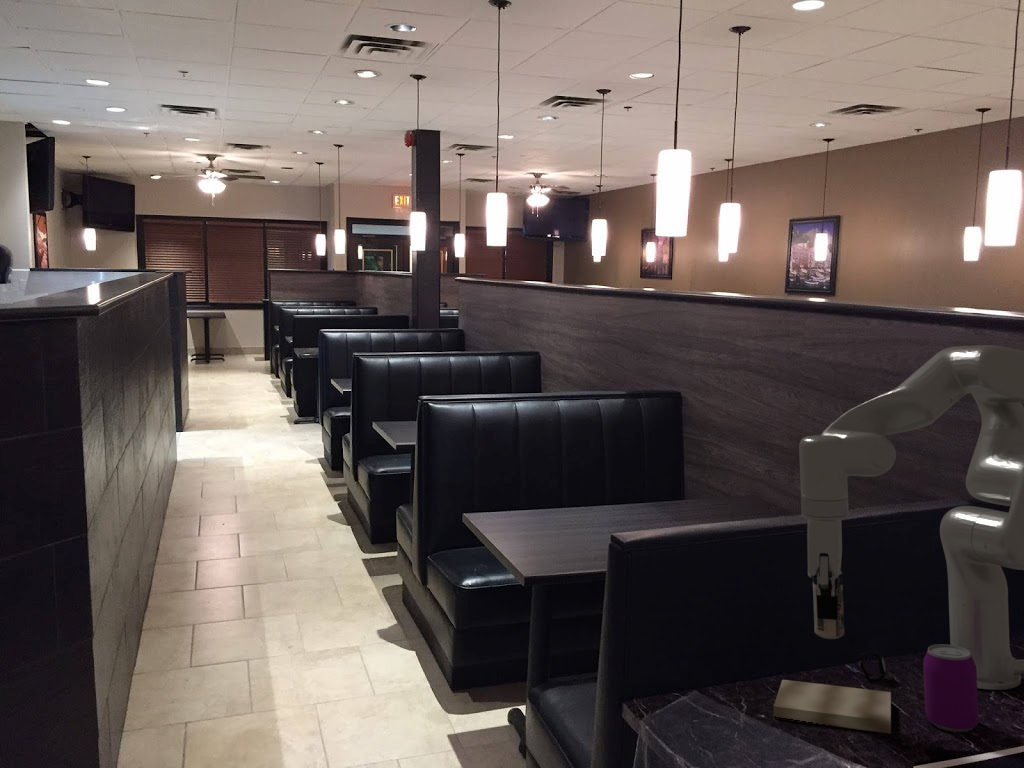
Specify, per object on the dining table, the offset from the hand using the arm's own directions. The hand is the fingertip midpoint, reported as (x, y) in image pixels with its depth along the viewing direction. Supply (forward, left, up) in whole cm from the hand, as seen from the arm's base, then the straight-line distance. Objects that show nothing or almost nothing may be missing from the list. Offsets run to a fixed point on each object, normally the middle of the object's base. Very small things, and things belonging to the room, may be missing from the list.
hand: (828, 612), depth 138 cm
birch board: (0, 0, -17) cm, 17 cm away
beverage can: (-18, -1, -17) cm, 25 cm away
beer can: (0, 0, -4) cm, 4 cm away
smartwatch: (-6, -17, -17) cm, 25 cm away
